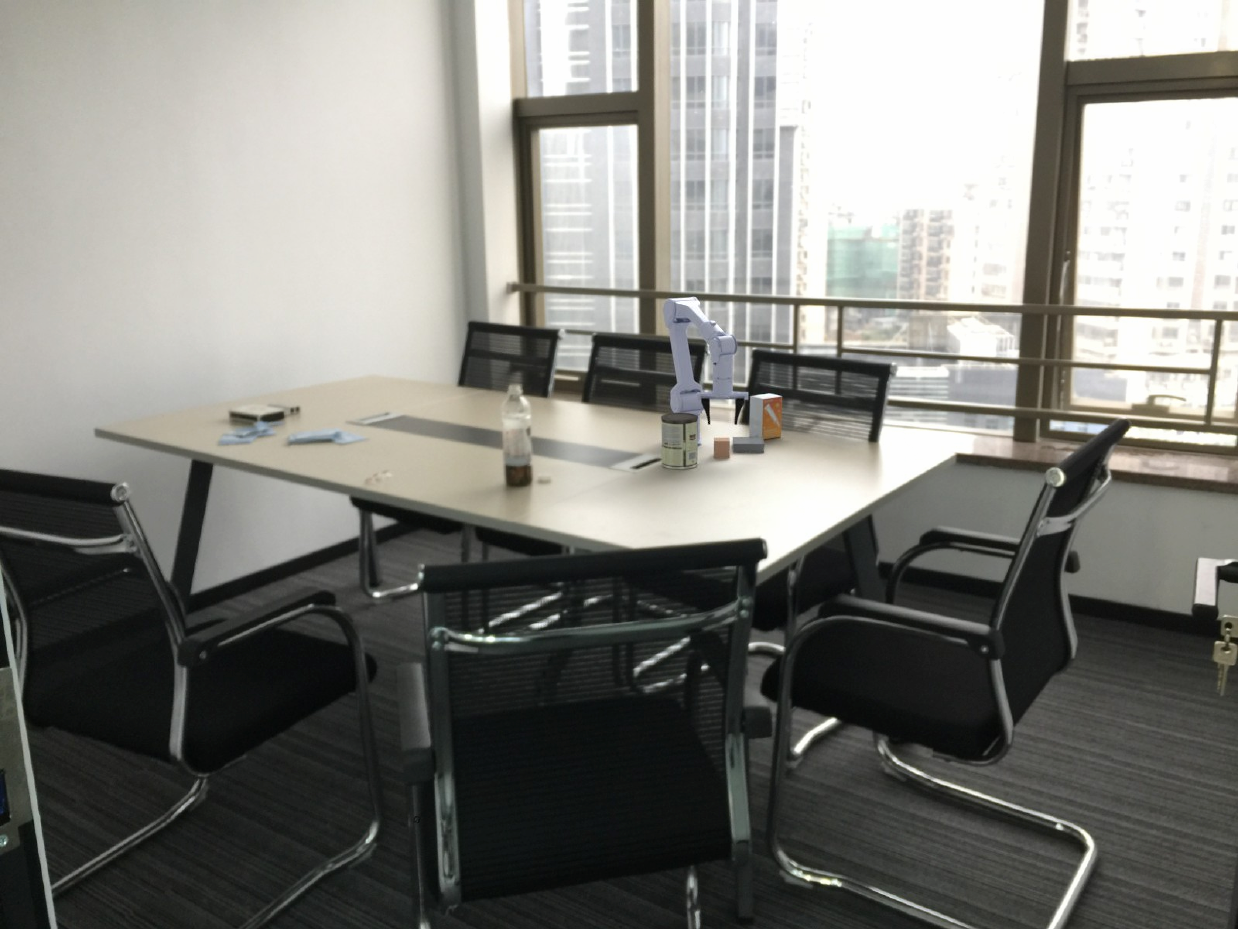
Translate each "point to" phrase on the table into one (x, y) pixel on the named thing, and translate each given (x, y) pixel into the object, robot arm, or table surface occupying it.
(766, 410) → the small box
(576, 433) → the table surface
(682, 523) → the table surface
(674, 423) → the coffee can
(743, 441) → the plate
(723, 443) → the peach block
